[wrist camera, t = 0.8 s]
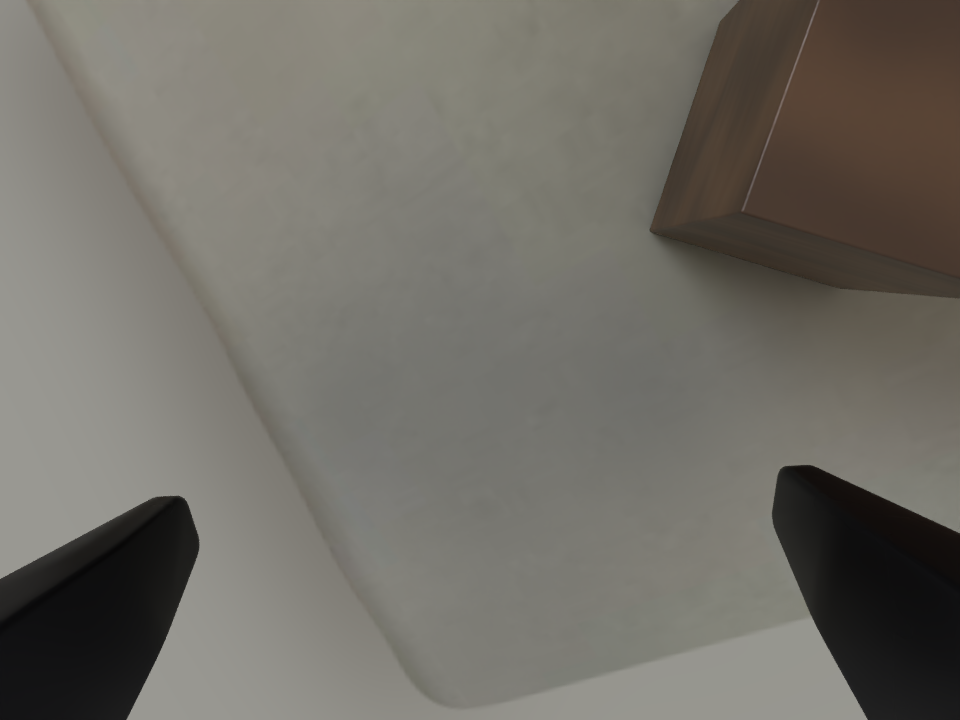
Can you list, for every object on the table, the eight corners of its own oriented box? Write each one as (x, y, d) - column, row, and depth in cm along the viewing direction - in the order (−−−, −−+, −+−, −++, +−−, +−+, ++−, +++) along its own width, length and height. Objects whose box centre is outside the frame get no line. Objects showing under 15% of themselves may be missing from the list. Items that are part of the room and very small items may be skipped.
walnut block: (841, 288, 23) (1052, 306, 14) (648, 231, 23) (740, 213, 14) (924, 82, 22) (1215, -41, 13) (720, 20, 22) (870, -147, 13)
